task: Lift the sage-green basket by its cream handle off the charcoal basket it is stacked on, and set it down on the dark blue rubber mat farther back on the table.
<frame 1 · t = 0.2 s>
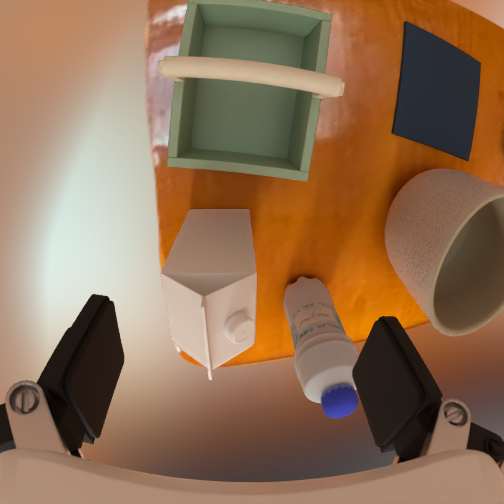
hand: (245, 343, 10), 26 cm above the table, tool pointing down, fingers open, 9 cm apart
milk carton: (220, 235, 36), on the table
mat: (442, 92, 28), on the table
bottle: (303, 290, 41), on the table
planter: (421, 217, 36), on the table
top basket: (246, 89, 23), point 6 cm above the table, touching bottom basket
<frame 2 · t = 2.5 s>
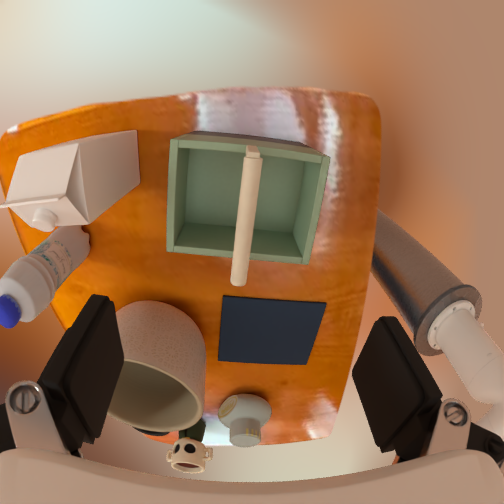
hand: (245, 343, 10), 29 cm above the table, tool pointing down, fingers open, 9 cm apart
milk carton: (115, 158, 34), on the table
character mug: (192, 420, 60), on the table
mat: (269, 333, 47), on the table
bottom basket: (243, 174, 36), on the table, touching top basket
bottle: (77, 238, 39), on the table
planter: (160, 327, 47), on the table
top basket: (243, 186, 30), point 6 cm above the table, touching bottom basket
air freshener: (244, 401, 56), on the table
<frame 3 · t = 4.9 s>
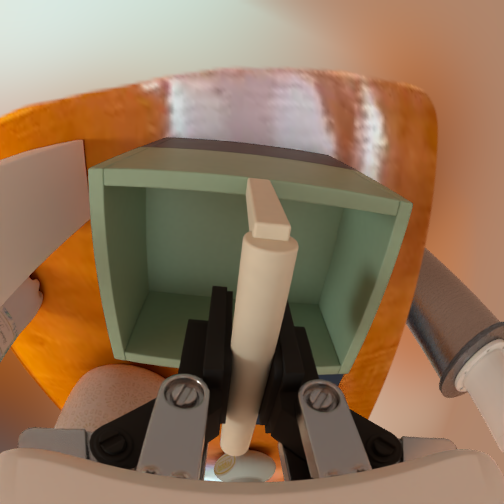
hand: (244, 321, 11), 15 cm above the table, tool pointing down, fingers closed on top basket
milk carton: (58, 181, 22), on the table
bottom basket: (240, 204, 24), on the table, touching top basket
bottle: (27, 283, 27), on the table
planter: (139, 388, 35), on the table
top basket: (241, 235, 18), point 7 cm above the table, touching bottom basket, gripper
air freshener: (244, 454, 44), on the table
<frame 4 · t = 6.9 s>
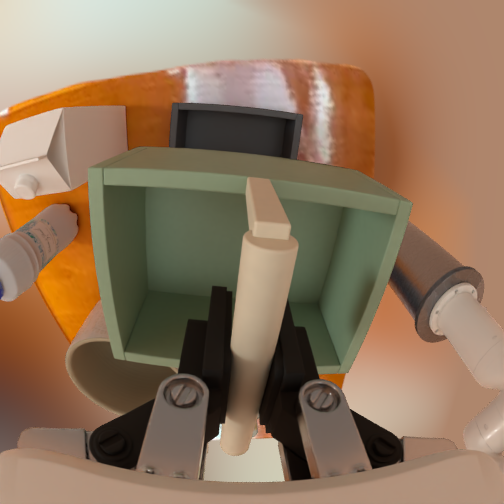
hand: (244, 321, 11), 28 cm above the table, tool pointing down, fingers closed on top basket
milk carton: (103, 135, 32), on the table
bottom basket: (233, 147, 34), on the table
bottle: (65, 219, 37), on the table
planter: (150, 312, 45), on the table
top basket: (240, 235, 18), point 20 cm above the table, touching gripper
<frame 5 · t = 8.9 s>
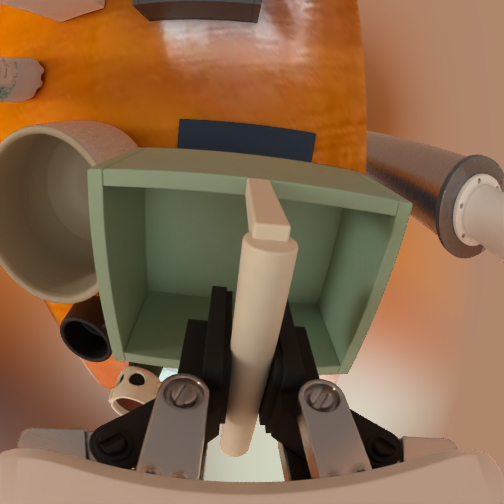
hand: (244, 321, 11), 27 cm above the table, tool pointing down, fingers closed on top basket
character mug: (150, 349, 47), on the table
mat: (241, 180, 35), on the table
mug: (105, 309, 43), on the table
bottle: (32, 80, 26), on the table
planter: (103, 180, 34), on the table
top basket: (240, 235, 18), point 19 cm above the table, touching gripper
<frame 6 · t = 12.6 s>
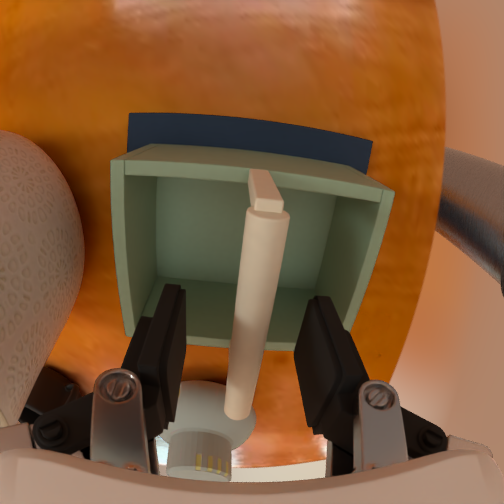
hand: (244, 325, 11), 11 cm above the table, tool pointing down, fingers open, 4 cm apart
mat: (241, 222, 20), on the table
mug: (62, 379, 28), on the table
planter: (27, 217, 19), on the table
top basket: (243, 224, 20), resting on mat
air freshener: (204, 396, 29), on the table
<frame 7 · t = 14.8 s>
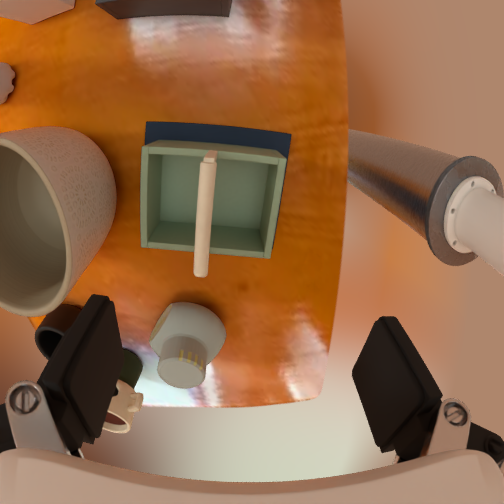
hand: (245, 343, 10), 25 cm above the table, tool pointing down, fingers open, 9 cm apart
character mug: (126, 358, 45), on the table
mat: (211, 186, 33), on the table
mug: (80, 317, 40), on the table
bottle: (5, 84, 23), on the table
planter: (72, 186, 31), on the table
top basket: (212, 187, 33), resting on mat
air freshener: (189, 322, 42), on the table
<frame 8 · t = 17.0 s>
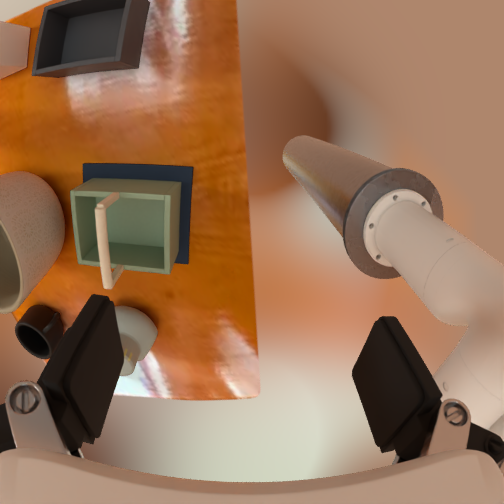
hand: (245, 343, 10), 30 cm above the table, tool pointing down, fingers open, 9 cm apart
milk carton: (14, 54, 25), on the table
mat: (134, 213, 39), on the table
mug: (52, 315, 47), on the table
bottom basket: (99, 38, 27), on the table
planter: (37, 213, 38), on the table
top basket: (134, 214, 38), resting on mat
air freshener: (132, 322, 47), on the table
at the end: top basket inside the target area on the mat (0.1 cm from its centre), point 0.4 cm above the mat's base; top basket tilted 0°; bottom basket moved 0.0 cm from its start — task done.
